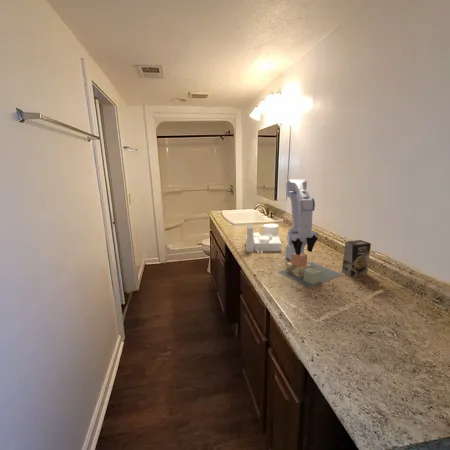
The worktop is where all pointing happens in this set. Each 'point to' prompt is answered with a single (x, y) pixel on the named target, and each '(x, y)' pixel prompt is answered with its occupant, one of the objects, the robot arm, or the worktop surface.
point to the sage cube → (312, 275)
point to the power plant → (263, 239)
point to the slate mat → (325, 272)
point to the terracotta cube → (299, 259)
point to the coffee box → (356, 258)
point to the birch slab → (296, 269)
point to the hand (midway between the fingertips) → (303, 252)
